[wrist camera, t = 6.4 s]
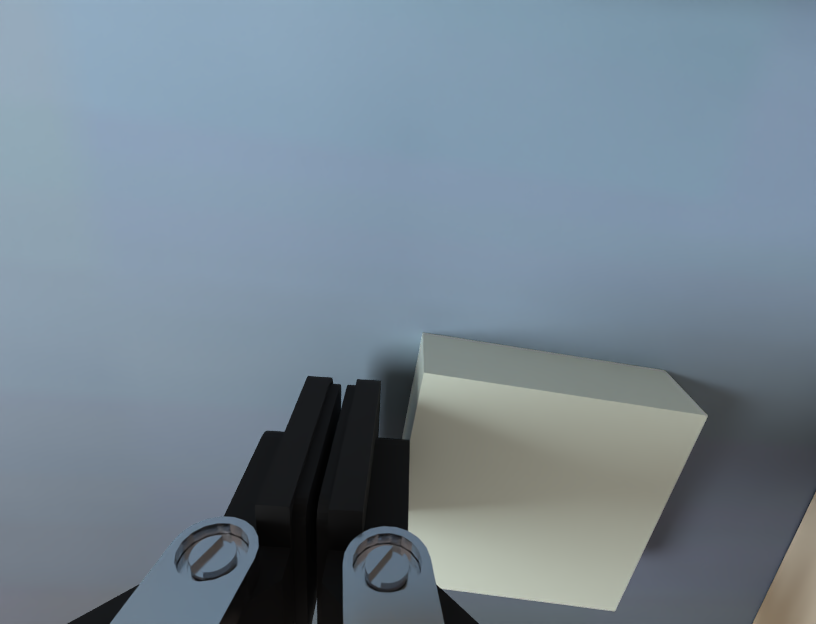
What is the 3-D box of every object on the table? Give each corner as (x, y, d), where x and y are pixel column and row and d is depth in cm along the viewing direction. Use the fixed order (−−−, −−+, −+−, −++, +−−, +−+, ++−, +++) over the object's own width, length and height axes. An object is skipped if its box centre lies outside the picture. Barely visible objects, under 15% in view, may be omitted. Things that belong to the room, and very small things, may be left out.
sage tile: (422, 322, 12) (423, 372, 10) (654, 359, 13) (707, 415, 10) (387, 505, 15) (381, 580, 12) (584, 532, 15) (615, 610, 12)
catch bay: (364, -162, 8) (336, -297, 5) (1164, -110, 8) (1543, -220, 5) (350, 678, 17) (336, 791, 14) (746, 699, 17) (811, 816, 14)
